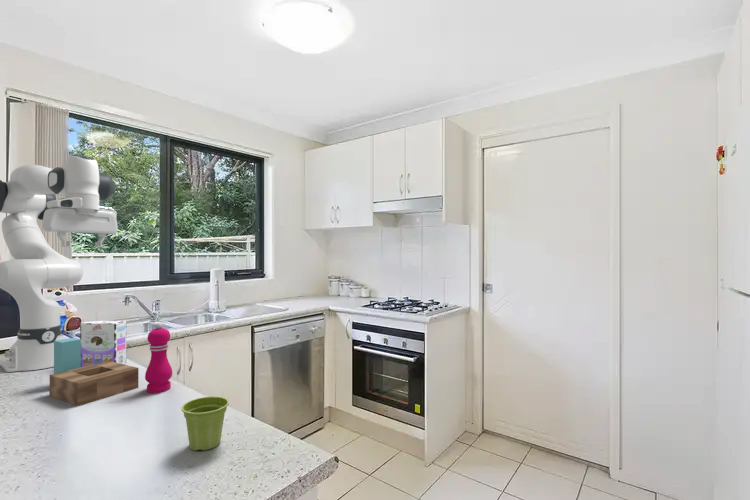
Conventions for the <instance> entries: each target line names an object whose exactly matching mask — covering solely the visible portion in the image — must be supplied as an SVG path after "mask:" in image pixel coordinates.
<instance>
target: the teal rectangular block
mask: <svg viewBox="0 0 750 500" xmlns="http://www.w3.org/2000/svg"><path fill="white" fill-rule="evenodd" d="M77 368H81V339H80V338H76V337H68V338H65V339H62V340H56V341H54V366H53V374H55V373H60V372H64V371H68V370H73V369H77Z"/></svg>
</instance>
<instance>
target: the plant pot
mask: <svg viewBox="0 0 750 500" xmlns="http://www.w3.org/2000/svg"><path fill="white" fill-rule="evenodd" d="M229 404H230V401H229V399H228V398H226V397H223V396H218V395H217V396H216V395H215V396H211V395H210V396H202V397H198V398H194V399H191V400H189V401H187V402H185V403H184V404H183V405H182V406H181V409H180V410H181V412H182V413H183V416H184V419H185V423H186V428H187V437H188V438H187V439H188V444H189V445H188V447H189V449H191V450H192V451H199V450H202V451H208V450H210V449H213V448H216V447H217V446H219V444H220V442H221V440H222V432H223V426H224V419H225V414H226V412H227V407H228V406H229Z"/></svg>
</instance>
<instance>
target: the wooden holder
mask: <svg viewBox="0 0 750 500" xmlns="http://www.w3.org/2000/svg"><path fill="white" fill-rule="evenodd" d="M138 388H139V367H136V366H131V365H127V364H126V365H124V364H120V363H115V362H111V361H107V362H103V363H99V364H94V365H90V366H86V367H81V368H77V369H73V370H68V371H64V372H60V373H55V374H54V373H51V374H49V389H48V391H49V393H48V394H49V396H50V397H52V398H56V399H58V400H61V401H64V402H66V403H70V404H72V405H75V406H78V407H79V406H83V405H86V404H89V403H90V404H91V403H93V402H96V401H100V400H102V399H106V398H110V397H113V396H117V395H119V394H122V393H125V392H129V391H132V390H134V389H138Z"/></svg>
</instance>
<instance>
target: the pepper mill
mask: <svg viewBox="0 0 750 500" xmlns="http://www.w3.org/2000/svg"><path fill="white" fill-rule="evenodd" d="M170 340H171V333H170V331H169V330H168V329H166V328H164V327H163V324H162V322H158V323H156V325H155V328H154V329H152V330H151V331H150V332H149V333H148V334H147V342H148V343H149V344H150V345H148V346H149V349H148V350H149V351H150V353H151V354H150V361H149V364H148V366H147V368H146V370H145V375H144V379H145V381H146V382H147V384H146V392H148V393H150V394H157V393H163V392H167V391H168V390H170V389H171V385H172V384H171V383H172V382H171V381H170V379H171V378H172V377H173V368H172V366H171V364H170V362H169V360H168V354H167V351H168V349H169V343H168V342H169V341H170Z"/></svg>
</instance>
